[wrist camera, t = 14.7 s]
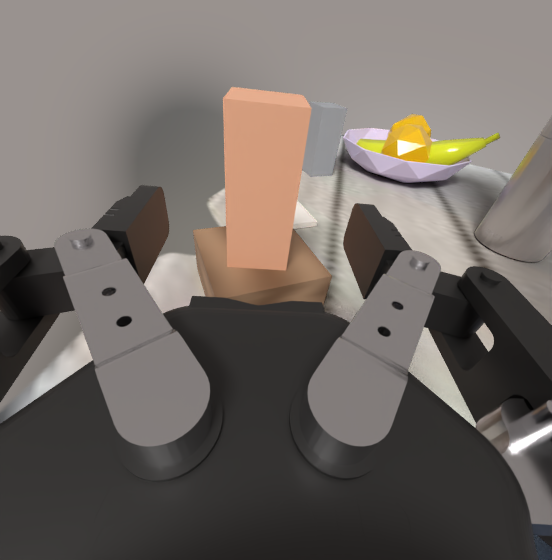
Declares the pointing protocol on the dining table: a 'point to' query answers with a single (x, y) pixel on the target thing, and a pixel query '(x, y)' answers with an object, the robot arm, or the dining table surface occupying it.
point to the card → (303, 218)
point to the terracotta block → (262, 174)
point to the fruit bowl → (411, 151)
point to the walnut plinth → (259, 273)
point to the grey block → (323, 138)
